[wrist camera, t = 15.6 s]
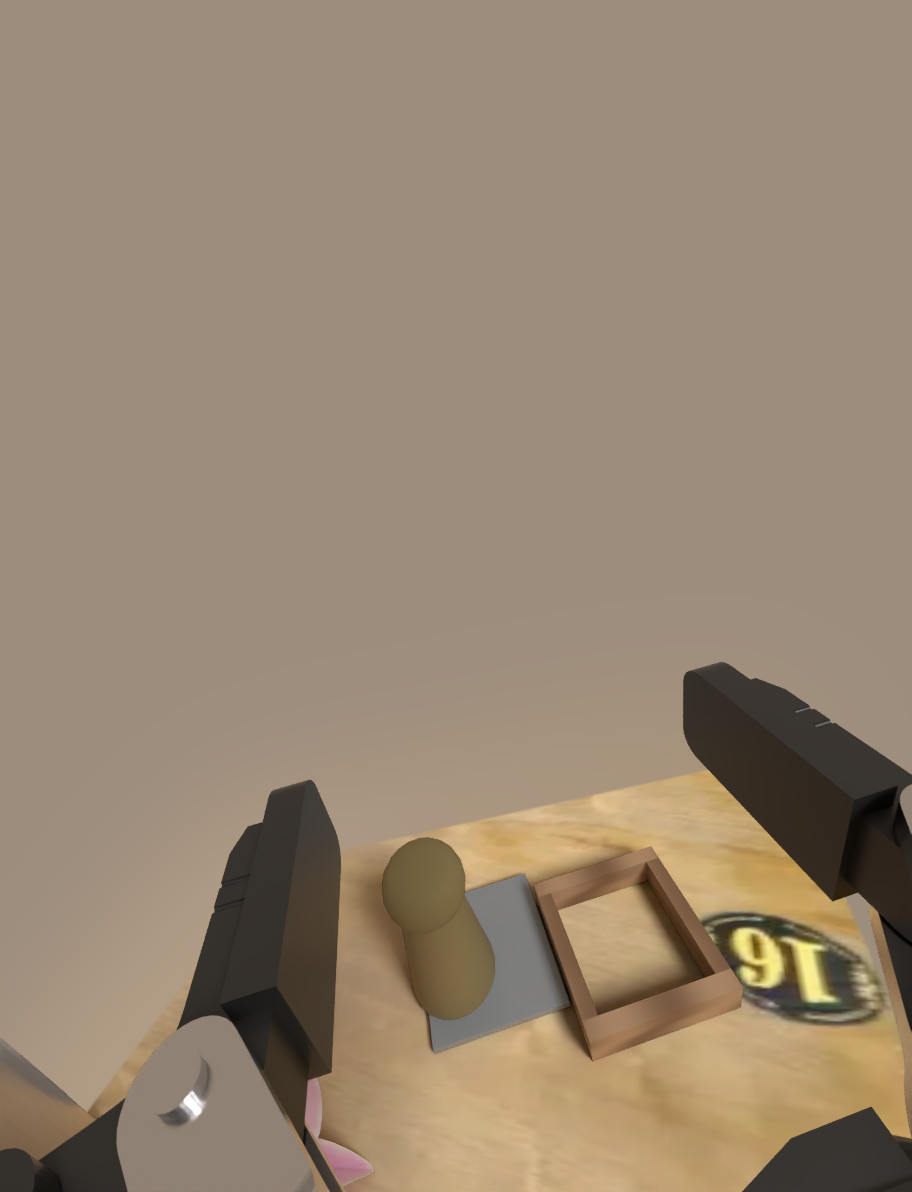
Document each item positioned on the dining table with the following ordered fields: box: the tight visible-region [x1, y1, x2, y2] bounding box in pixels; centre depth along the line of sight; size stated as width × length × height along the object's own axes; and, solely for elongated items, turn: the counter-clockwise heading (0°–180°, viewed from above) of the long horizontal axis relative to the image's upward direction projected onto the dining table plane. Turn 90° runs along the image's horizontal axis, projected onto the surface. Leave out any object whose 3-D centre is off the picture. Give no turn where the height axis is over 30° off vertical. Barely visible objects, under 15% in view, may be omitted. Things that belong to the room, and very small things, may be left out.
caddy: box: [534, 847, 743, 1061], centre depth 32 cm, size 10×10×2 cm
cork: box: [382, 838, 495, 1020], centre depth 31 cm, size 6×6×11 cm
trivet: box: [429, 873, 570, 1054], centre depth 34 cm, size 9×9×1 cm
